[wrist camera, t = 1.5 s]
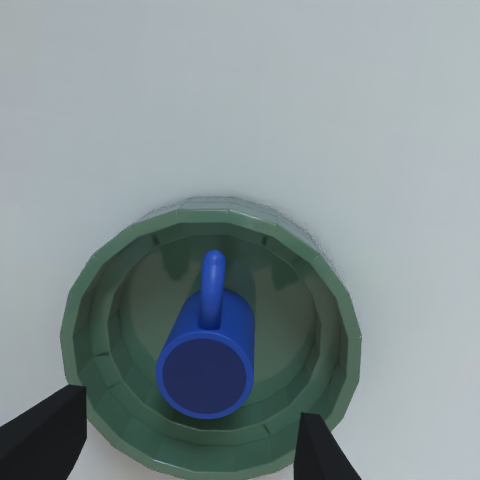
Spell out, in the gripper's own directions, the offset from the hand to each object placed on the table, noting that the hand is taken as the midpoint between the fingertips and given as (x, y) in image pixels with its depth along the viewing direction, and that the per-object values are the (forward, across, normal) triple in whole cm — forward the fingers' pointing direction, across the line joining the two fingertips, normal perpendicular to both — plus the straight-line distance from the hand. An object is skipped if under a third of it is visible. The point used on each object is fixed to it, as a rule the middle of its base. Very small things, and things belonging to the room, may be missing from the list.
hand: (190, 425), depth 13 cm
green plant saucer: (+9, 0, 0) cm, 9 cm away
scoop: (+8, 0, -1) cm, 8 cm away
